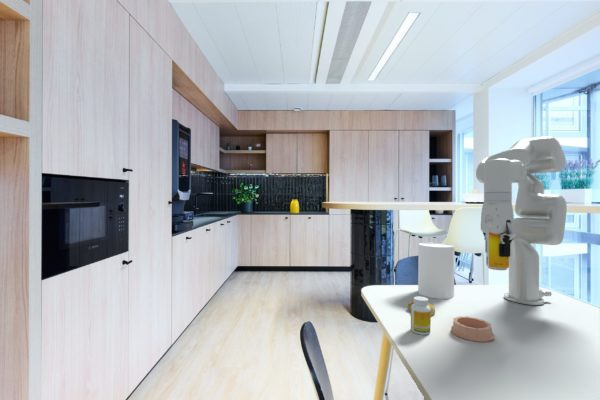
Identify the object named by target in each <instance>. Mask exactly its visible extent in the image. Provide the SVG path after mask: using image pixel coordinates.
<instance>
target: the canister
mask: <svg viewBox="0 0 600 400" xmlns="http://www.w3.org/2000/svg"><path fill="white" fill-rule="evenodd" d="M417 245H418V246H417V247H418V255H417V256H418V259H417V260H418V261H417V262H418V265H417V266H418V270H417V272H418V273H417V274H418V275H417V293H418V294H419V295H420V296H422V297H426V298H431V299H439V300H447V299H452V298H454V297H455V245H454V244H449V243H442V242H420V243H418V244H417Z"/></svg>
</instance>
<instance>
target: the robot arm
mask: <svg viewBox="0 0 600 400" xmlns="http://www.w3.org/2000/svg"><path fill="white" fill-rule="evenodd" d="M566 161H567V160H566V155H565V153H564V150H563V148H562V146H561V143H560V142H559V140H557V139H556V138H555V137H553V136H541V137H532V138H524V139H521V140H518V141H516V142H515V143H513V145H512V146H511V147H510V148H508V149H505V150H504V151H501V152H497V153H495V154H491V155H489V156H487V157H485V158H483V159H482V161H481V162H480V163H479V164H477V167H476V170H475V175H476V176H475V177H476V179H477V180H478V182H479V183H481V184H483V203H482V207H481V214H480V215H481V216H480V231H481V232H482V235H483V238H484V239H483V240H484V241H485V243H484V244H485V246H484V247H485V253H486V232H487V224H488V223H490V225H491V232H492V233H493V234H497V235H499V238H500V242H501V244H499V256H500V257H509V268H508V292H505V293H504V294H503V298H504V299H505V300H507V301H510V302H513V303H515V304H516V303H517V304H522V305H528V306H541V305H544V304H545V299H544V297H552V295H553V294H552V291H550V290H542V289H540V255H539V252H538V251H537V250H536V249H535V247H534V246H533V244H535V245H546V246H547V245H548V246H557V245H560V244H562V243H563V240H564V236H565V232H566V231H565V230H566V221H567V209H568V208H567V207H568V205H567V201H566V199H565V198H564V197H563V196H562V195H560V194H554V193H552V194H551V193H548V194H547V193H546V194H545V193H544V192H545V185H544V183H543V182H542V181H541V179H539V178H538V177H536V176H535V175H533V174H545V173H548V174H549V173H558V172H561V171H562V170H564V168H565V167H566V163H567V162H566ZM513 183H514V184H516V183H517V185H518V189H517V194H516V199H515V205H514V207H513V202H512V201H513V196H512V195H513V190H512V189H513V188H512V187H513V186H512V185H513ZM514 212H515V214H516V216H518V217H515V218H514V216H515V215H514ZM504 231H506V232H507V233H503V232H504ZM503 236H506V237H505V238H504V237H503Z"/></svg>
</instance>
